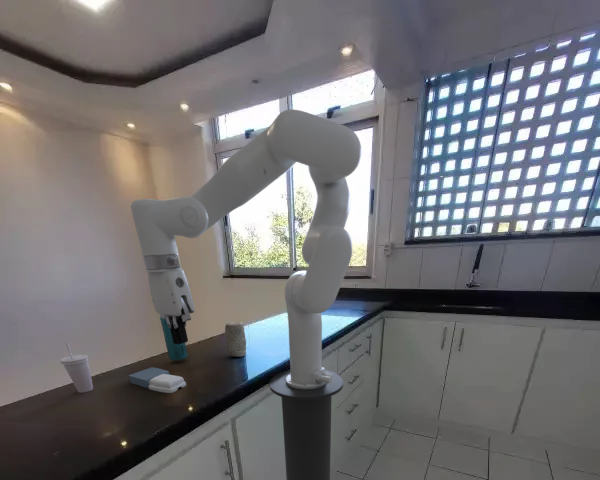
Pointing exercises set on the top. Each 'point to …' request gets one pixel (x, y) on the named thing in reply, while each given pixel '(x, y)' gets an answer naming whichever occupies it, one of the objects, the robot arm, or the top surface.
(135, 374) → the rubber pad
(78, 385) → the smoothie
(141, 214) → the robot arm
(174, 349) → the beverage bottle
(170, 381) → the white clamshell food container
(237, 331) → the carving
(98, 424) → the top surface
